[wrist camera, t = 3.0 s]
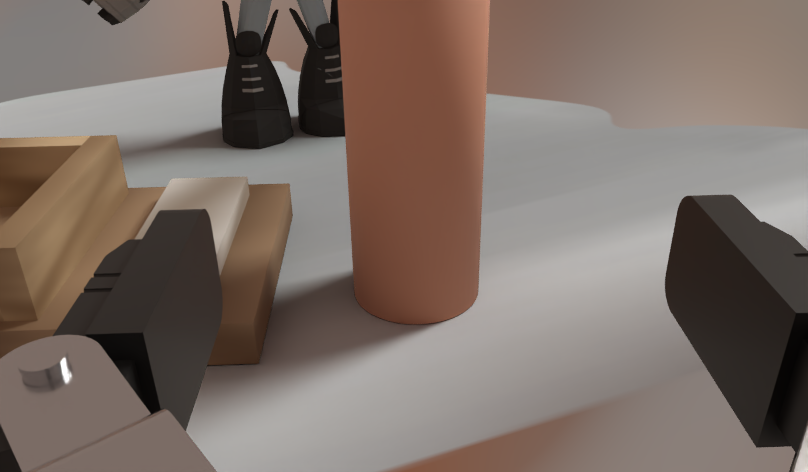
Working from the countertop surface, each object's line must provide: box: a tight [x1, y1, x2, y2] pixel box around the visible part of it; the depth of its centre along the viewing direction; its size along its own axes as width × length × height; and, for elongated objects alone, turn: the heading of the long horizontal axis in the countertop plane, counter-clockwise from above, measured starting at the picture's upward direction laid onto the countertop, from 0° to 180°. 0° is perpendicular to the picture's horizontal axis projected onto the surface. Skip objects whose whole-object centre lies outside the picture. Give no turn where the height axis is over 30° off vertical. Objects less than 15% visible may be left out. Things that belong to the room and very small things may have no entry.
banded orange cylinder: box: [338, 0, 490, 324], centre depth 22 cm, size 4×4×14 cm
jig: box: [0, 135, 293, 365], centre depth 25 cm, size 16×10×4 cm, turn 92°
